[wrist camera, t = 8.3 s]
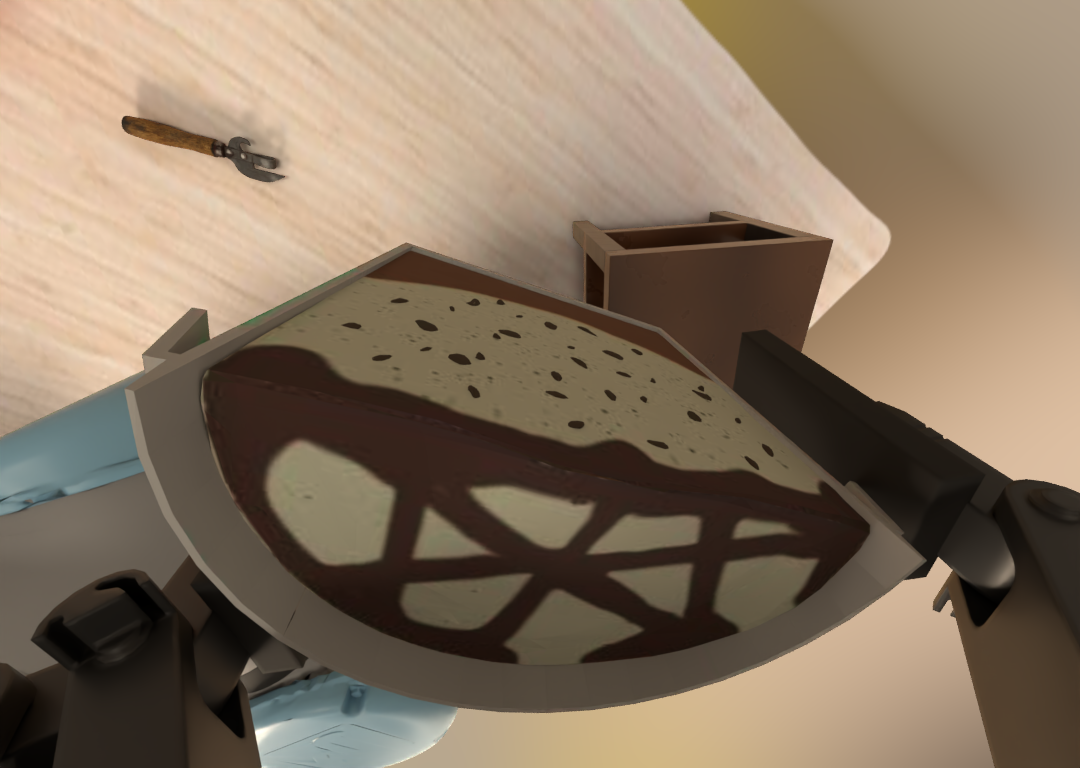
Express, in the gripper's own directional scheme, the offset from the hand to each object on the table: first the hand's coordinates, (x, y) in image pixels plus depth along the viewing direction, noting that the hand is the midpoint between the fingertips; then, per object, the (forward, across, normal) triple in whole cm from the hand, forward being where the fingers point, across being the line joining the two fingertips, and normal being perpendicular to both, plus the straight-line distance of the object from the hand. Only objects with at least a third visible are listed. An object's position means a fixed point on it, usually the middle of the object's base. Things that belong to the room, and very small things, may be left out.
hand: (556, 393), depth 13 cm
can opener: (+22, -20, +9) cm, 31 cm away
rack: (+22, +10, -6) cm, 25 cm away
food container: (+3, -1, 0) cm, 3 cm away
